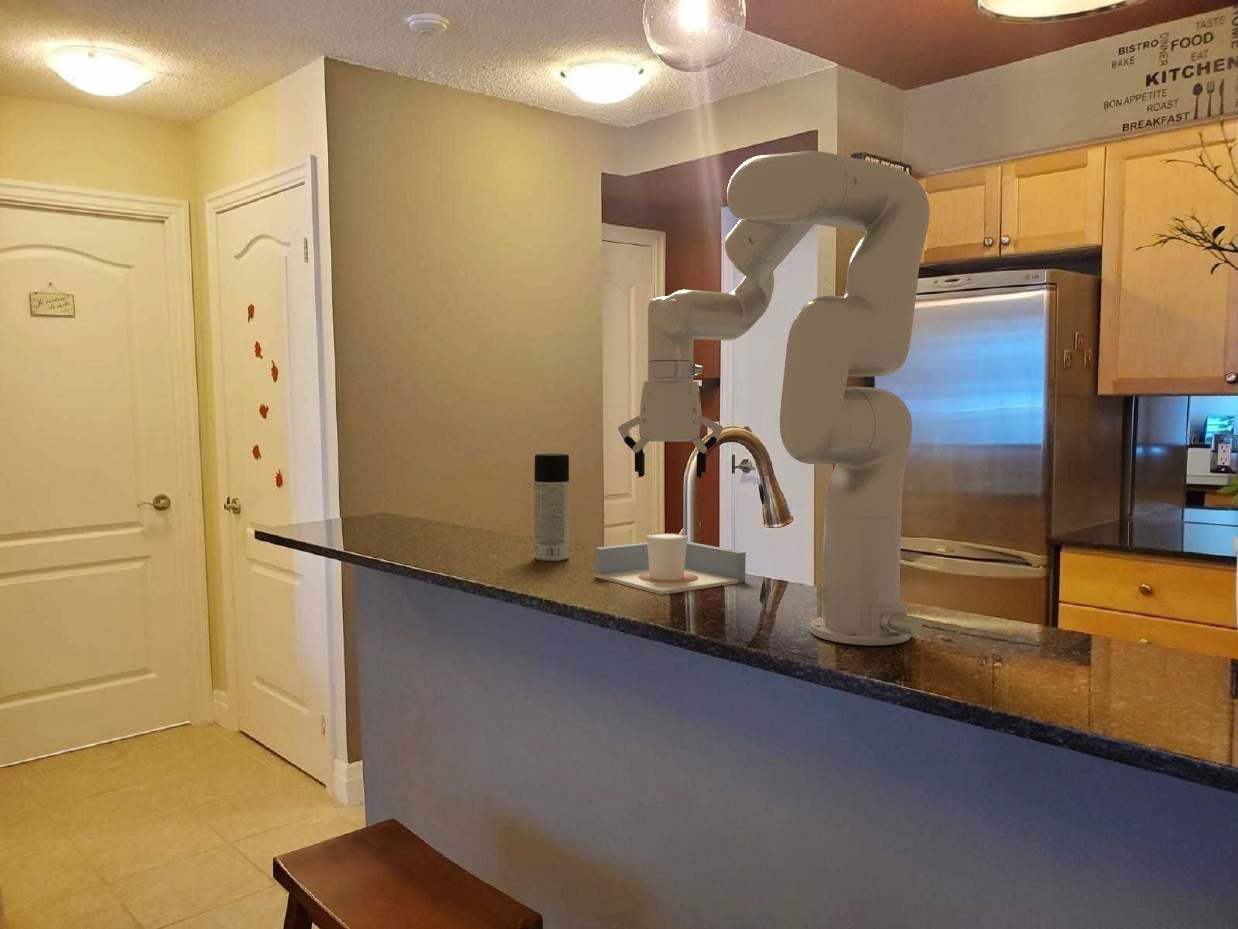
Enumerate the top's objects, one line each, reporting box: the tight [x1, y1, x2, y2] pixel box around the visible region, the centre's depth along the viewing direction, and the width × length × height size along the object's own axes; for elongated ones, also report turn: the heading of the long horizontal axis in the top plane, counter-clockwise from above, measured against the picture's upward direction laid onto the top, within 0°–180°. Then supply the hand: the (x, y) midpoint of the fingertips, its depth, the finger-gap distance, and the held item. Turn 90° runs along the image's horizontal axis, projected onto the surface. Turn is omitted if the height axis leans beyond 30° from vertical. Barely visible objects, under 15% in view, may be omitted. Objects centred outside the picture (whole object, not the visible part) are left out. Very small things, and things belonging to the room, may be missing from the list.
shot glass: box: [646, 532, 689, 580], centre depth 153 cm, size 7×7×7 cm
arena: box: [594, 541, 747, 596], centre depth 154 cm, size 18×18×5 cm
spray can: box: [533, 453, 570, 562], centre depth 174 cm, size 7×7×20 cm
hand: (670, 476), depth 152 cm, fingers open, 9 cm apart
